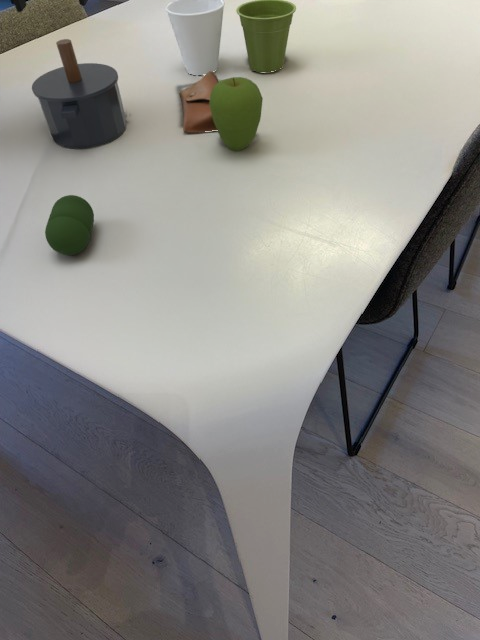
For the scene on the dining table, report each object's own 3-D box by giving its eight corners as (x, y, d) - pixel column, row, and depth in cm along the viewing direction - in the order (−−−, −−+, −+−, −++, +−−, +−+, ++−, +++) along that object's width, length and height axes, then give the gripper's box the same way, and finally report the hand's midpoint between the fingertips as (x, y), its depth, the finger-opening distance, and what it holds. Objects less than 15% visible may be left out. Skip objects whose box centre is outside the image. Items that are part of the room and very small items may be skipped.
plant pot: (254, 83, 101) (251, 22, 92) (231, 64, 108) (227, 5, 100) (304, 71, 103) (307, 10, 95) (279, 53, 111) (279, -5, 103)
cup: (164, 77, 106) (153, 11, 96) (191, 56, 113) (183, -7, 103) (213, 84, 102) (207, 16, 93) (238, 62, 109) (234, -3, 100)
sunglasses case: (176, 91, 99) (189, 59, 95) (208, 105, 102) (222, 74, 98) (182, 133, 87) (197, 98, 83) (218, 148, 90) (234, 114, 86)
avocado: (91, 261, 66) (78, 227, 61) (49, 265, 66) (34, 231, 61) (101, 218, 72) (90, 185, 68) (63, 222, 72) (49, 188, 68)
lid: (25, 109, 80) (7, 62, 75) (44, 73, 90) (29, 30, 85) (114, 101, 80) (102, 54, 75) (123, 66, 90) (113, 22, 85)
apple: (248, 165, 79) (244, 93, 71) (204, 154, 83) (195, 84, 74) (272, 140, 84) (271, 70, 76) (230, 131, 87) (224, 63, 79)
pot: (42, 160, 85) (23, 111, 78) (63, 110, 98) (48, 65, 91) (121, 153, 85) (108, 104, 78) (131, 104, 97) (121, 59, 91)
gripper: (-72, -137, 61) (-10, 19, 73) (67, -151, 60) (105, 8, 73) (-51, -143, 66) (4, 4, 78) (78, -156, 65) (112, -7, 78)
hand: (53, 6), depth 76 cm, fingers open, 9 cm apart
